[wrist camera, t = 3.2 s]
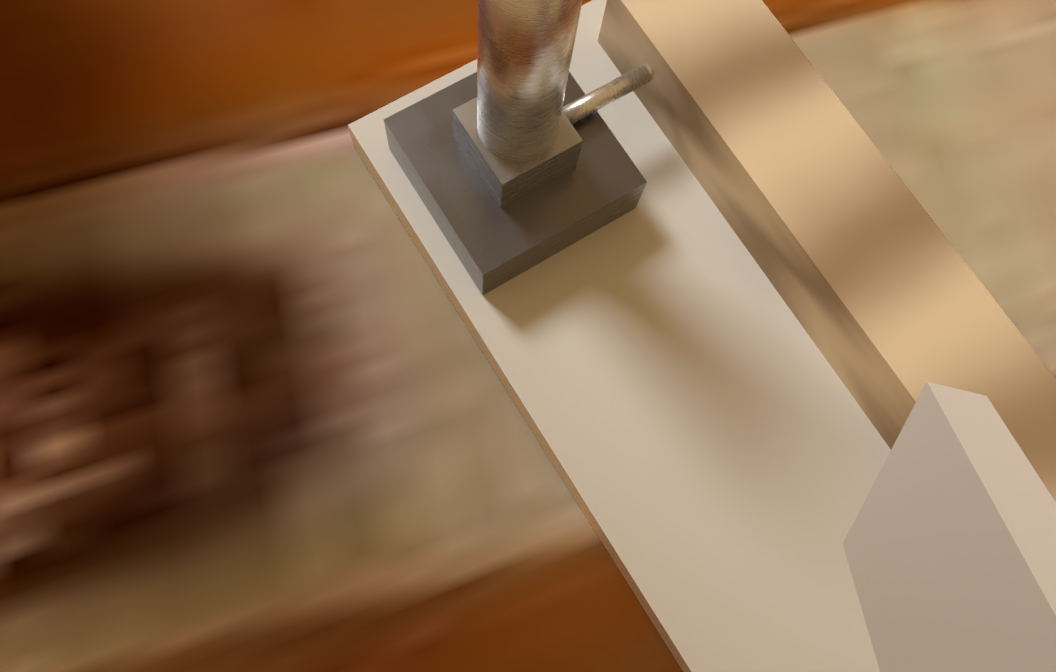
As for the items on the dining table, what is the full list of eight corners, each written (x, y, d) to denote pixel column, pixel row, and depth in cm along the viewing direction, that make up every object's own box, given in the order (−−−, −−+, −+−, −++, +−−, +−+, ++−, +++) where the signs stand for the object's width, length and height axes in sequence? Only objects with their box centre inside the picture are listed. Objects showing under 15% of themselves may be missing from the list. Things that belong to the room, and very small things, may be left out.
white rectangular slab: (353, 146, 31) (348, 124, 29) (686, -26, 33) (695, -53, 32) (765, 803, 26) (782, 817, 24) (1114, 539, 28) (1149, 537, 27)
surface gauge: (389, 149, 29) (324, -174, 16) (591, 44, 30) (672, -324, 18) (482, 295, 28) (489, 67, 15) (687, 178, 29) (846, -116, 17)
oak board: (597, 41, 31) (610, -15, 28) (689, -7, 31) (710, -66, 28) (991, 589, 26) (1055, 592, 23) (1086, 519, 27) (1160, 512, 24)
